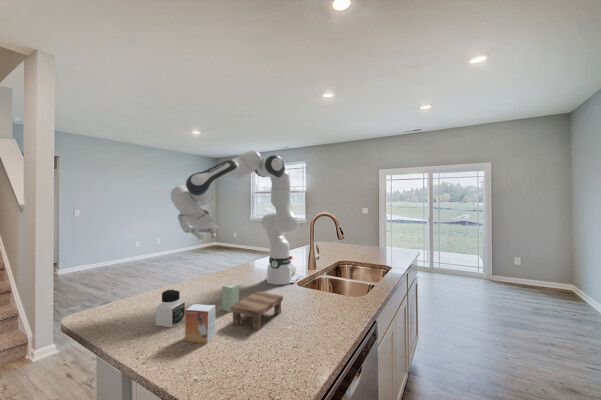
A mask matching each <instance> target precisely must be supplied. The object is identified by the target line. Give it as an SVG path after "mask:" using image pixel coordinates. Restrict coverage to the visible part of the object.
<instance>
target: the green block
mask: <svg viewBox="0 0 601 400" xmlns="http://www.w3.org/2000/svg"><path fill="white" fill-rule="evenodd" d="M238 302H240V284H239V283H238V284H237V283H232V282H229V283H226V284H224V285H222V286H221V310H222V311H225V312H229V313H232V312H231V306H233V305H234V304H236V303H238Z"/></svg>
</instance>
